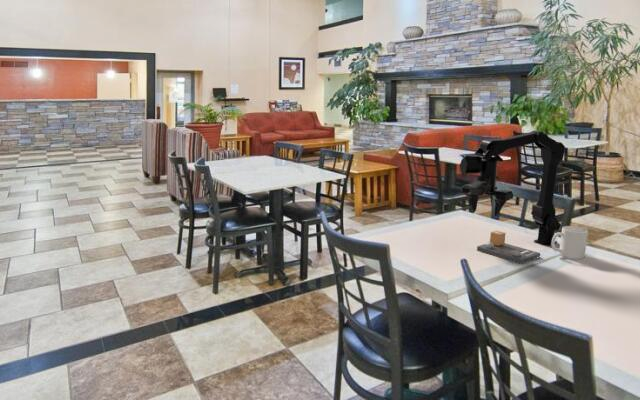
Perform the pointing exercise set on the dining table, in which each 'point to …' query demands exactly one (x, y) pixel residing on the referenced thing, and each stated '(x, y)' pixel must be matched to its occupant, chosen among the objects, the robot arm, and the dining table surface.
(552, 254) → the dining table surface
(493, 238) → the orange cube
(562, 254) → the cup
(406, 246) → the dining table surface
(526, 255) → the board
